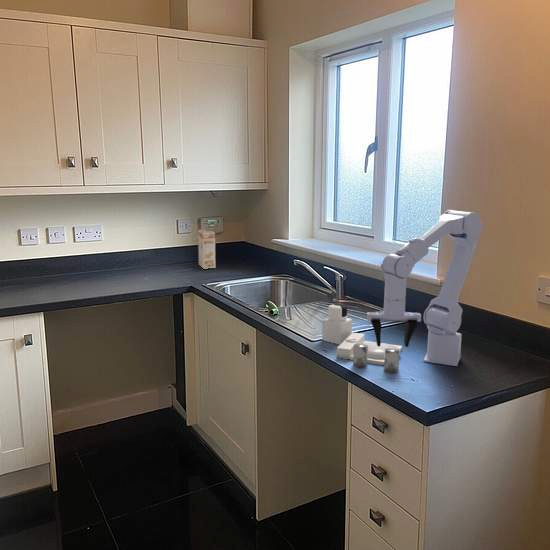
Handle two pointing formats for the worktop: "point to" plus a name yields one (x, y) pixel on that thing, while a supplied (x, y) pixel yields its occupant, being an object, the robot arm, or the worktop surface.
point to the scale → (374, 352)
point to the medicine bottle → (336, 324)
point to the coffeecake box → (206, 248)
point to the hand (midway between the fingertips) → (392, 345)
